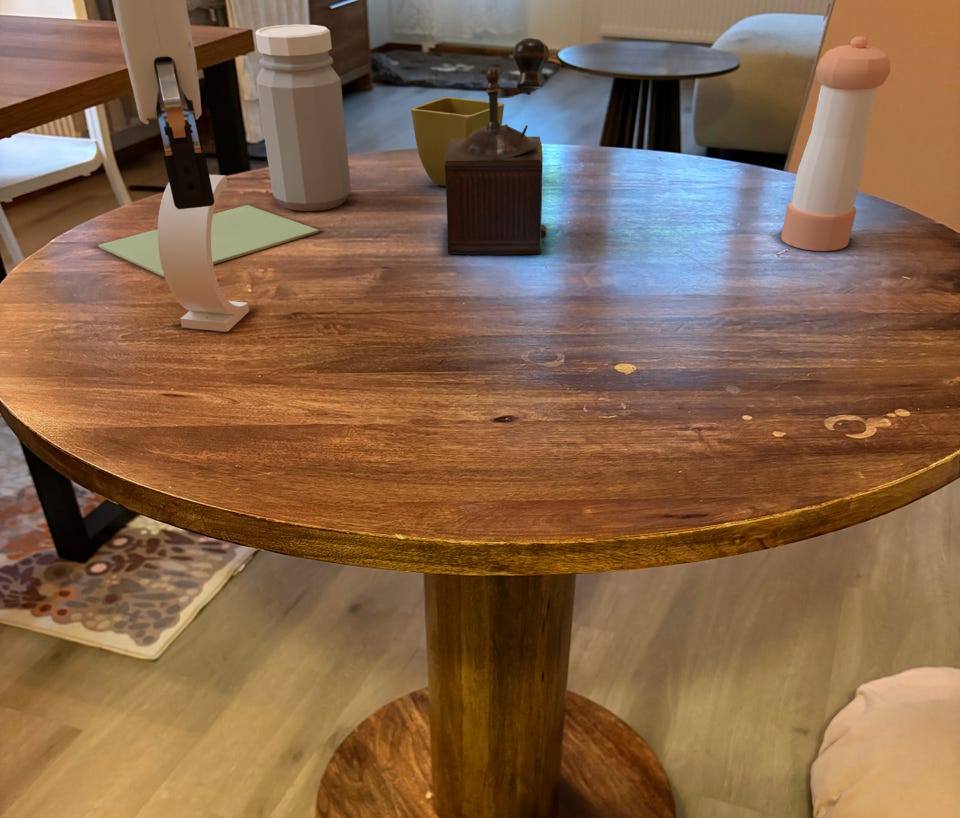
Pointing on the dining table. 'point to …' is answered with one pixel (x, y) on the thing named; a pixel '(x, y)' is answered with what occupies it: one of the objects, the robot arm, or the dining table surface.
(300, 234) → the placemat
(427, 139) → the flower pot
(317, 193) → the jar
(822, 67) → the salt shaker
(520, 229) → the brown manual coffee grinder
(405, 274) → the dining table surface
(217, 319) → the headphone stand
